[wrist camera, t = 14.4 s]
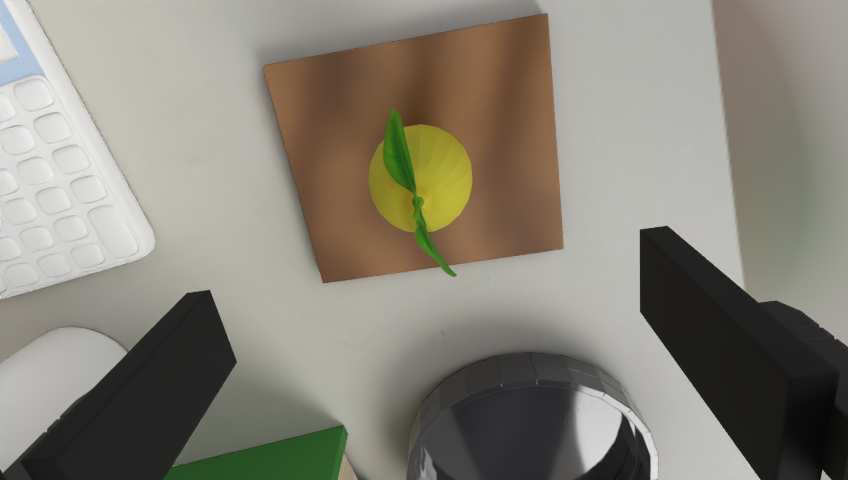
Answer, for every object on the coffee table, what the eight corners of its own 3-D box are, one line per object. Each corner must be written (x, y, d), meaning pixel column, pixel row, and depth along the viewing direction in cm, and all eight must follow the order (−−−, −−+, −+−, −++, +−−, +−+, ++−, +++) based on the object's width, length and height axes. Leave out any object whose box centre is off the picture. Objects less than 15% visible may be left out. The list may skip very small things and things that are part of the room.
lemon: (451, 227, 31) (458, 308, 22) (362, 199, 31) (331, 270, 21) (490, 125, 29) (516, 169, 19) (394, 92, 28) (373, 121, 19)
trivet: (544, 13, 27) (548, 12, 26) (560, 243, 33) (564, 249, 32) (267, 64, 29) (261, 65, 28) (325, 277, 34) (322, 283, 33)
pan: (639, 333, 35) (660, 363, 32) (640, 512, 42) (657, 552, 39) (389, 365, 37) (385, 397, 33) (429, 532, 44) (429, 572, 40)
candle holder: (179, 389, 38) (73, 536, 27) (90, 439, 40) (-41, 593, 29) (83, 294, 35) (-81, 415, 24) (-7, 353, 37) (-195, 489, 26)
